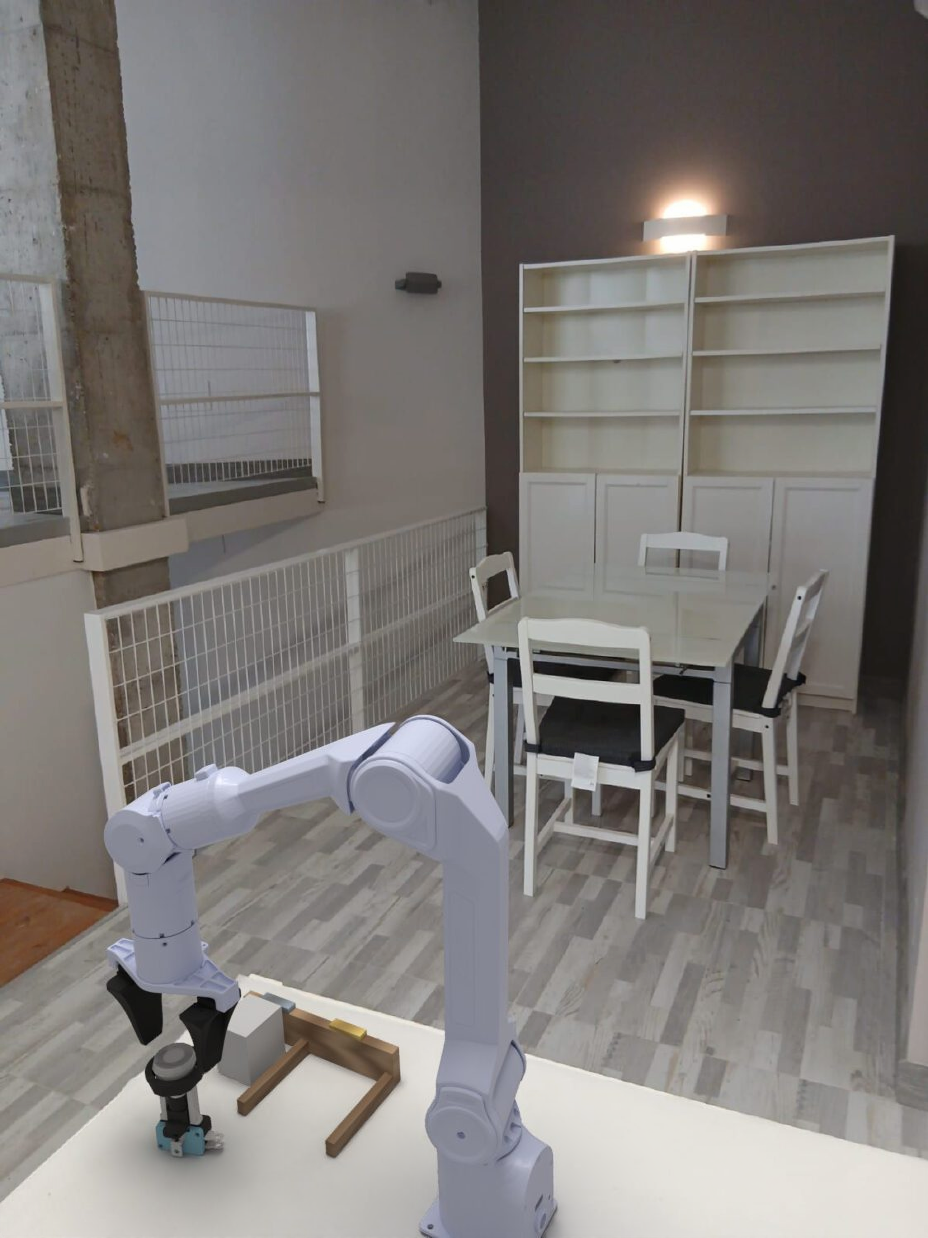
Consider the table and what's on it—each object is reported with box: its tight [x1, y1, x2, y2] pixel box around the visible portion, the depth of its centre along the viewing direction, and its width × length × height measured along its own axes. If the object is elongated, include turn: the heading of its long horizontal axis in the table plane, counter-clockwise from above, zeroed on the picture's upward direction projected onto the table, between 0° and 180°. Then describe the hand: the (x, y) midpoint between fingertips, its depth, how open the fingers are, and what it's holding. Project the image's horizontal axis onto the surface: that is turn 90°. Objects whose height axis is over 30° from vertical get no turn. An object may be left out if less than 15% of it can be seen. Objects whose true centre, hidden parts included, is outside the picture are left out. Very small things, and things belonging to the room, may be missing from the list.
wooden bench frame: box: [195, 990, 402, 1158], centre depth 95 cm, size 20×11×5 cm, turn 61°
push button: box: [144, 1042, 226, 1158], centre depth 86 cm, size 7×5×10 cm
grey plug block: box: [217, 994, 287, 1087], centre depth 98 cm, size 4×6×6 cm
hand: (180, 1051), depth 85 cm, fingers open, 7 cm apart
